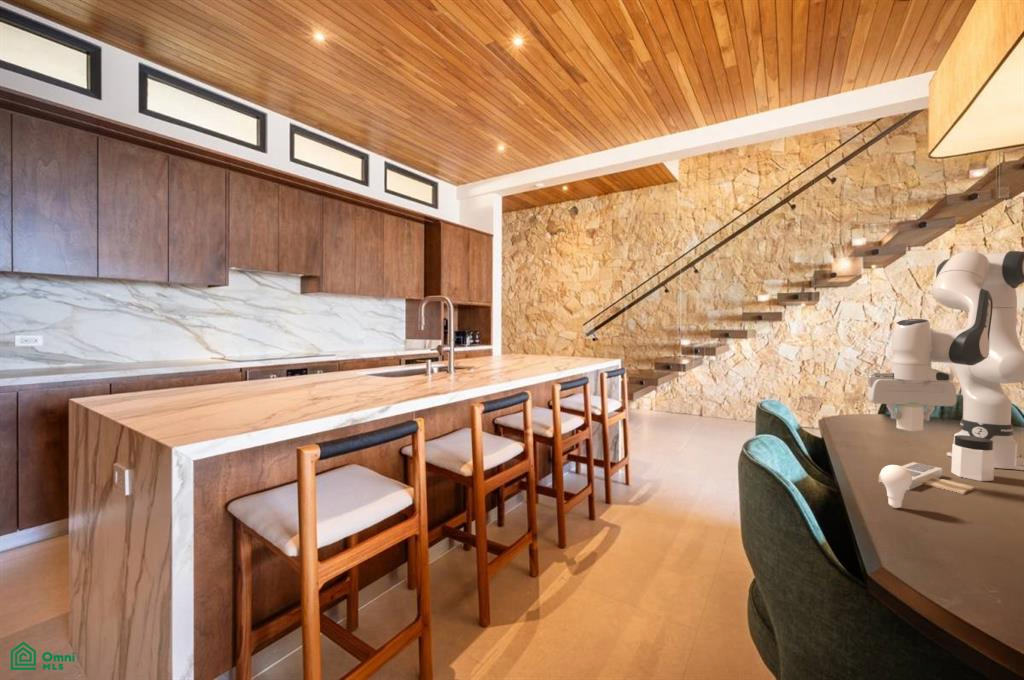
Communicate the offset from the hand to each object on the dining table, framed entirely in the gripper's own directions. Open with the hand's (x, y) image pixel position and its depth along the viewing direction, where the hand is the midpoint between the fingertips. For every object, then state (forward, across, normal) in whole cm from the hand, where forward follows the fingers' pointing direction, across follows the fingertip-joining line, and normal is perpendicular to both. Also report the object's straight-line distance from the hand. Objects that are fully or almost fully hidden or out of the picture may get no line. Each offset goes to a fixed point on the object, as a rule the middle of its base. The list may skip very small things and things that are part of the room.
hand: (909, 419), depth 128 cm
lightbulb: (+18, -14, -25) cm, 35 cm away
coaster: (+19, +8, -2) cm, 21 cm away
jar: (+19, +21, +11) cm, 31 cm away
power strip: (+19, +3, +4) cm, 19 cm away
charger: (+3, 0, 0) cm, 3 cm away
